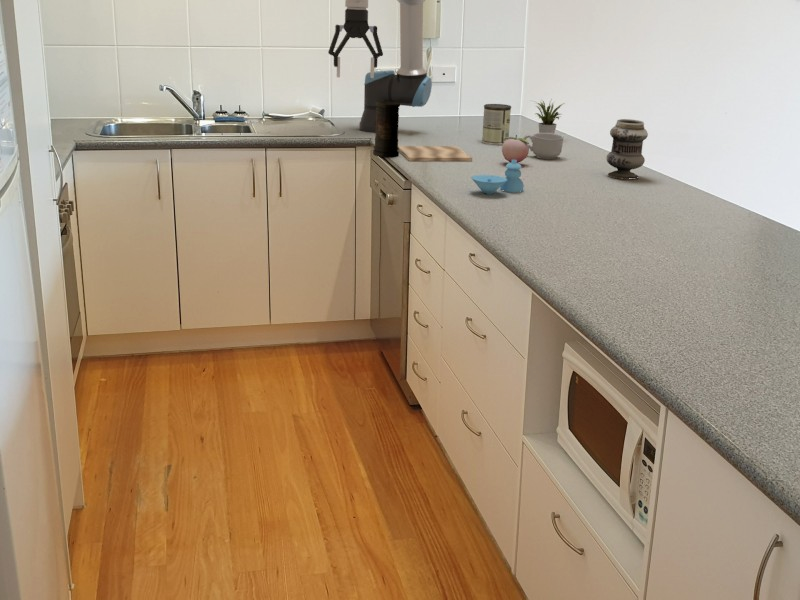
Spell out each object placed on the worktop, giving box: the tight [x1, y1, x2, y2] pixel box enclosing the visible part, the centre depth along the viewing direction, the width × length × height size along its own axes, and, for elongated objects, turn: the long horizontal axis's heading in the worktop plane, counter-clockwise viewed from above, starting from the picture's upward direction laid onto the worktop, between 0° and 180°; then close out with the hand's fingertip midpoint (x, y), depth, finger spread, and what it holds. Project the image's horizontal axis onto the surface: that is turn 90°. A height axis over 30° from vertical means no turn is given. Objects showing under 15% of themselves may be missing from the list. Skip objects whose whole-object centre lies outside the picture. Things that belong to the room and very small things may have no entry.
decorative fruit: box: [501, 134, 530, 164], centre depth 306 cm, size 9×8×10 cm
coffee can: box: [481, 103, 512, 146], centre depth 346 cm, size 10×10×14 cm
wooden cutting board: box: [397, 145, 473, 162], centre depth 318 cm, size 22×22×1 cm
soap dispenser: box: [470, 160, 525, 195], centre depth 265 cm, size 18×10×9 cm, turn 127°
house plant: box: [530, 98, 566, 134], centre depth 357 cm, size 14×14×16 cm
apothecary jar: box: [605, 118, 649, 180], centre depth 292 cm, size 12×12×18 cm
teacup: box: [523, 132, 565, 160], centre depth 322 cm, size 14×11×8 cm
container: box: [372, 101, 401, 158], centre depth 312 cm, size 9×9×18 cm
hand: (355, 77), depth 305 cm, fingers open, 11 cm apart
